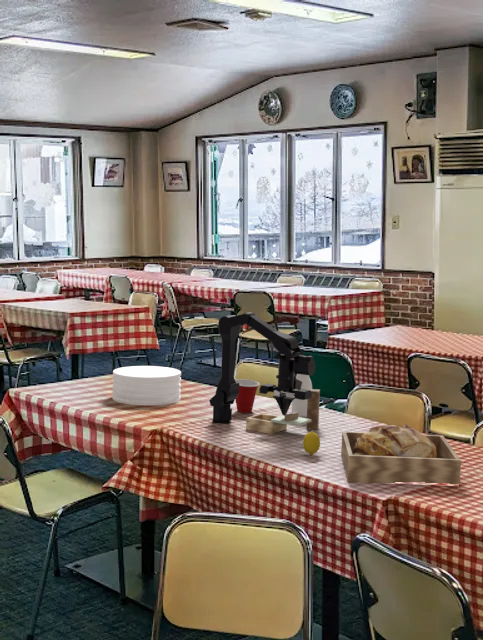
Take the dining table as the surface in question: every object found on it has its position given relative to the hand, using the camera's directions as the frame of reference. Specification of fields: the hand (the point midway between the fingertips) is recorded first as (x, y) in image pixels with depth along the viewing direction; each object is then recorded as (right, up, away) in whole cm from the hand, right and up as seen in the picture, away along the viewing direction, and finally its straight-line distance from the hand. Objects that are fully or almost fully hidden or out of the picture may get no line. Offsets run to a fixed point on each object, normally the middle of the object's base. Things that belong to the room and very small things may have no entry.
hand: (284, 415), depth 329 cm
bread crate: (+33, -12, -45) cm, 57 cm away
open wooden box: (-6, -5, +5) cm, 9 cm away
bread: (+31, -13, -43) cm, 55 cm away
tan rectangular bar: (+11, -6, +9) cm, 15 cm away
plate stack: (-55, +1, +53) cm, 76 cm away
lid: (+2, -2, -1) cm, 3 cm away
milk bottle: (+8, -3, +30) cm, 31 cm away
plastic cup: (-14, -2, +33) cm, 36 cm away
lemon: (+7, -10, -30) cm, 32 cm away
